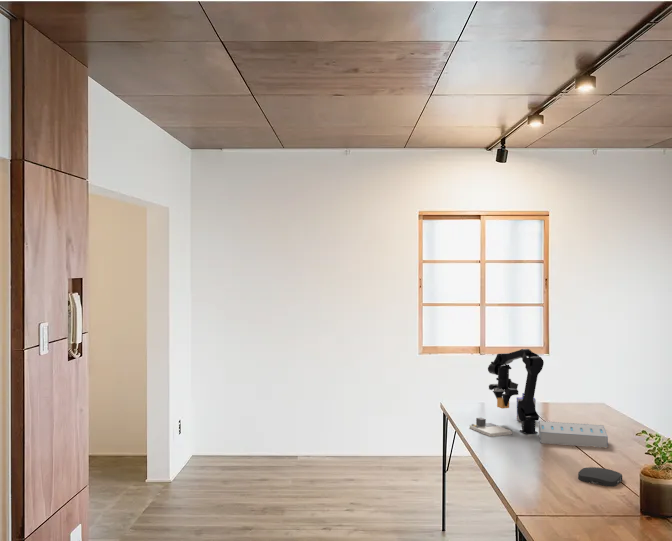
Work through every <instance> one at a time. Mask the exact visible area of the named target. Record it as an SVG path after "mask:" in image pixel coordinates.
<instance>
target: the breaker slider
mask: <svg viewBox="0 0 672 541" xmlns="http://www.w3.org/2000/svg"><path fill="white" fill-rule="evenodd" d="M475 421H476V422H475V425H478V426H486V423H487V422H486V421H487V420H486V419H485V418H483V417H476V420H475Z"/></svg>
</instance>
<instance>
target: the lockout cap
mask: <svg viewBox="0 0 672 541" xmlns="http://www.w3.org/2000/svg"><path fill="white" fill-rule="evenodd" d="M496 402H497V403H496V406H497V408H499V409H509V408H510V401H509V402H508V405H507V406H505V405H504V400H503V396H502V397H499V398H496Z"/></svg>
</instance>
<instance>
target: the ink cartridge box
mask: <svg viewBox="0 0 672 541" xmlns="http://www.w3.org/2000/svg"><path fill="white" fill-rule="evenodd" d="M523 397H524V392H523V393H522V395H521V397H518V396H516V421H519V422H522V421H521V420H519V416H518V408H517V407H518V402H519V401H521V400H523ZM536 401H537V399H536V398H535V397H534V399H533V402H534V404H535V406H536ZM527 417H531V416H527Z"/></svg>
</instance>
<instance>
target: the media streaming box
mask: <svg viewBox="0 0 672 541" xmlns="http://www.w3.org/2000/svg"><path fill="white" fill-rule="evenodd" d="M577 477H578V478H577V479H578V480H579V481H582V482H584V481H585V483H589V482H590V484H593V483H594V485H598V484H599V486H603V485H604V486H603V487H616V486H617V485H619V484H620V483H621V482H622V481H623V474H622V473H620V472H618V471H616V470H613V469H609V468H603V467H595V466H594V467H593V466H591V467H590V466H589V467H582V469H580V470H579V471H578V472H577Z"/></svg>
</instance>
